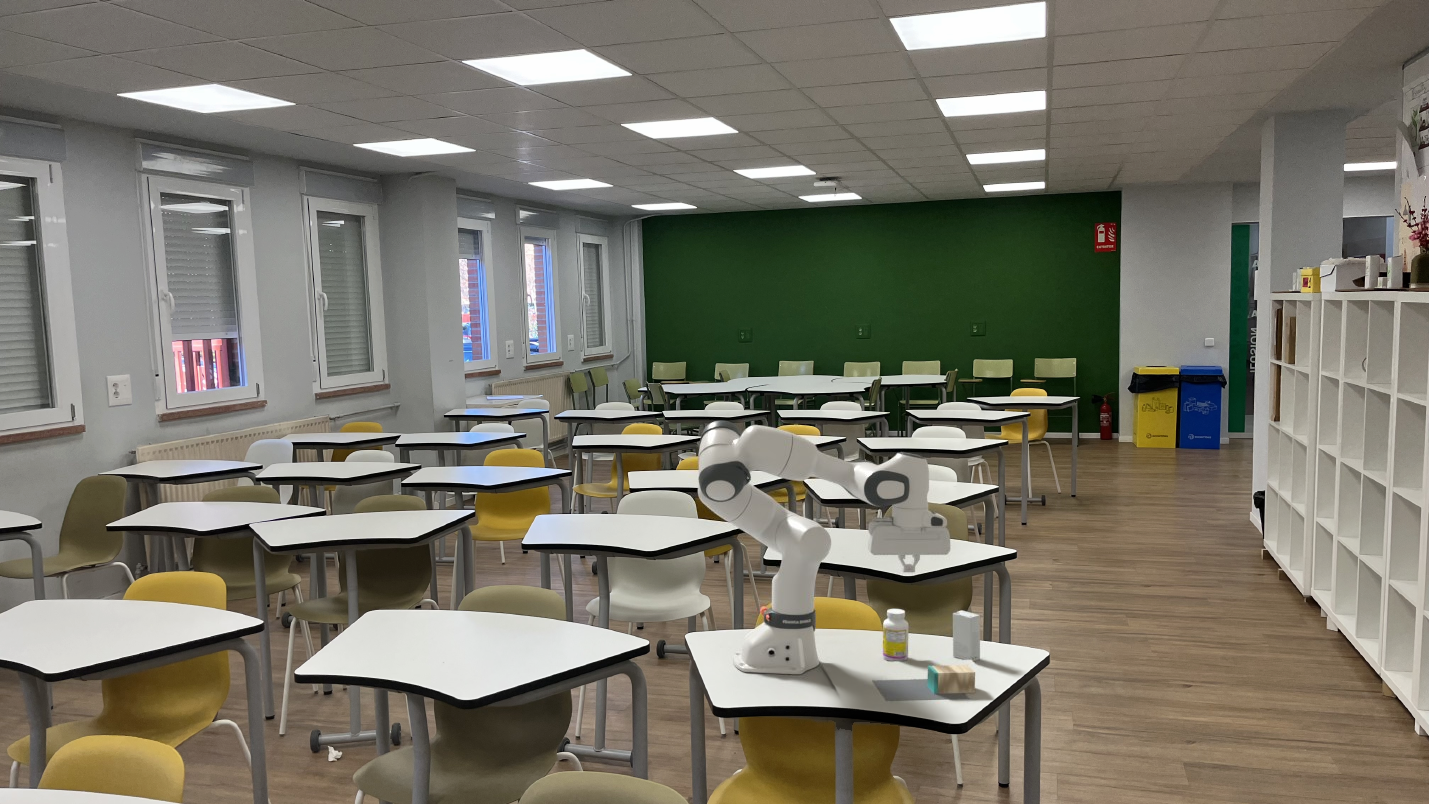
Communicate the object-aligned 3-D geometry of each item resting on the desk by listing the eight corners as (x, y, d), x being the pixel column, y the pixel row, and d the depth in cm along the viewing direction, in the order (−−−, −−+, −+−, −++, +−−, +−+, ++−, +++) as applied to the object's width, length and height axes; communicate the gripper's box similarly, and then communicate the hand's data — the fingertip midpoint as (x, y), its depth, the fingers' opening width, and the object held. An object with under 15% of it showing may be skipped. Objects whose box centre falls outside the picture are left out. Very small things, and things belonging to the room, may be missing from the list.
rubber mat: (886, 705, 225) (886, 700, 225) (872, 684, 238) (872, 680, 238) (969, 702, 227) (969, 698, 227) (950, 682, 240) (950, 678, 240)
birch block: (934, 673, 229) (975, 672, 230) (927, 665, 234) (967, 664, 235) (933, 693, 230) (974, 692, 231) (927, 685, 235) (967, 684, 236)
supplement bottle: (889, 652, 262) (890, 605, 260) (911, 657, 258) (913, 610, 257) (878, 659, 256) (879, 611, 255) (901, 664, 252) (902, 616, 251)
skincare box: (980, 659, 257) (982, 614, 256) (970, 663, 254) (971, 617, 253) (961, 653, 261) (962, 609, 261) (951, 656, 259) (952, 612, 258)
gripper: (871, 519, 237) (870, 575, 238) (953, 519, 238) (951, 574, 239) (865, 514, 243) (864, 568, 244) (945, 514, 244) (943, 568, 245)
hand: (908, 571), depth 242 cm, fingers closed
